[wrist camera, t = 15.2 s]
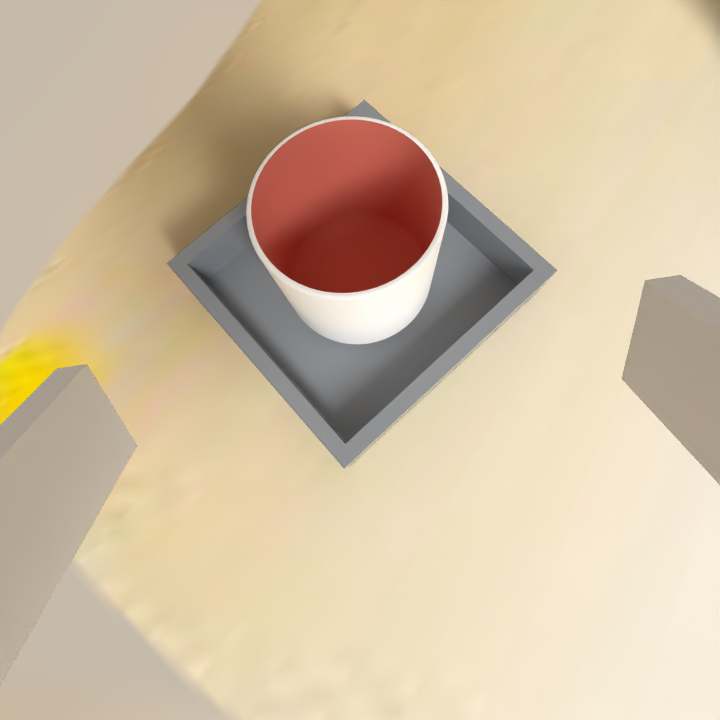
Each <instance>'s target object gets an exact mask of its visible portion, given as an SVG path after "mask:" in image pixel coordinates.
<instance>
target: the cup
mask: <svg viewBox="0 0 720 720" xmlns="http://www.w3.org/2000/svg"><path fill="white" fill-rule="evenodd" d="M447 216H448V193H447V187H446V183H445V179H444V176H443V174H442V171H441V169H440V167H439V165H438V163H437V162H436V160H435V158H434V157H433V155H432V154H431V153H430V151H429V150H428V149H427V148H426V147H425V146H424V145H423V144H422V143H421V142H420V141H419V140H418V139H416V138H415V137H414V136H412V135H411V134H410V133H408V132H407V131H405V130H403V129H401V128H400V127H398V126H395V125H393V124H391V123H388V122H385V121H382V120H378V119H374V118H369V117H359V116H345V117H335V118H330V119H325V120H322V121H319V122H315V123H312V124H310V125H308V126H305V127H303V128H301V129H299V130H298V131H296V132H294V133H292V134H291V135H289V136H288V137H287V138H285V139H284V140H283V141H281V142H280V143H279V144H278V145H277V146H276V147H275V148H274V149H273V150H272V151H271V152H270V153H269V154H268V155H267V157H266V158H265V159H264V161H263V162H262V164H261V165H260V167H259V168H258V170H257V172H256V174H255V176H254V178H253V181H252V183H251V186H250V189H249V194H248V198H247V206H246V219H247V227H248V232H249V236H250V239H251V242H252V245H253V247H254V249H255V251H256V253H257V255H258V256H259V258H260V259H261V261H262V262H263V264H264V265H265V267H266V268H267V270H268V271H269V273H270V274H271V276H272V277H273V279H274V280H275V282H276V283H277V285H278V286H279V287H280V289H281V290H282V292H283V293H284V295H285V296H286V298H287V299H288V301H289V302H290V304H291V305H292V307H293V308H294V309H295V311H296V312H297V314H298V315H299V317H300V318H301V319H302V320H303V321H304V322H305V323H306V324H307V325H308V326H309V327H310V328H311V329H313V330H314V331H315V332H317V333H318V334H320V335H322V336H324V337H326V338H328V339H331V340H333V341H337V342H340V343H346V344H369V343H374V342H378V341H381V340H384V339H386V338H389V337H391V336H393V335H394V334H396V333H398V332H400V331H401V330H402V329H404V328H405V327H406V326H407V325H408V324H409V323H410V322H412V320H413V319H414V318H415V317H416V316H417V314H418V313H419V312H420V310H421V309H422V307H423V305H424V303H425V301H426V299H427V296H428V293H429V290H430V286H431V282H432V278H433V274H434V270H435V266H436V262H437V258H438V254H439V250H440V246H441V242H442V238H443V234H444V230H445V226H446V221H447Z"/></svg>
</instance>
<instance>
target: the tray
mask: <svg viewBox="0 0 720 720" xmlns="http://www.w3.org/2000/svg"><path fill="white" fill-rule="evenodd" d="M346 116H359V117H369V118H374V119H378V120H382V121H385V122H388V123H390V122H389V121H388V120H387V119H385V118H384V117H383V116H382V115H381V114H380V113H379V112H377V111H376V110H375V109H374V108H373V107H372V106H371V105H370V104H368V103H367V102H366V101H365V100H364V101H362V102H361V103H360V104H359V105H358V106H356V107H355V108H354V109H353V110H352V111H350V112H349V113H348V114H347V115H346ZM344 117H345V116H344ZM439 167H440V166H439ZM440 169H441V171H442V174H443V176H444V179H445V183H446V187H447V193H448V216H447V221H446V226H445V230H444V234H443V238H442V242H441V246H440V250H439V254H438V258H437V262H436V266H435V270H434V274H433V278H432V282H431V286H430V290H429V293H428V296H427V299H426V301H425V303H424V305H423V307H422V309H421V310H420V312H419V313H418V314H417V316H416V317H415V318H414V319H413V320H412V322H410V323H409V324H408V325H407V326H406V327H405V328H404V329H402V330H401V331H400V332H398V333H396V334H394V335H393V336H391V337H389V338H386V339H384V340H381V341H378V342H374V343H369V344H346V343H340V342H337V341H333V340H331V339H328V338H326V337H324V336H322V335H320V334H318V333H317V332H315V331H314V330H313V329H311V328H310V327H309V326H308V325H307V324H306V323H305V322H304V321H303V320H302V319H301V318H300V317H299V315H298V314H297V312H296V311H295V309H294V308H293V307H292V305H291V304H290V302H289V301H288V299H287V298H286V296H285V295H284V293H283V292H282V290H281V289H280V287H279V286H278V285H277V283H276V282H275V280H274V279H273V277H272V276H271V274H270V273H269V271H268V270H267V268H266V267H265V265H264V264H263V262H262V261H261V259H260V258H259V256H258V255H257V253H256V251H255V249H254V247H253V245H252V242H251V239H250V236H249V232H248V227H247V219H246V206H247V198H248V197H247V198H245V199H244V200H243V201H242V202H241V203H239V204H238V205H237V206H236V207H235V208H233V209H232V210H231V211H230V212H228V213H227V214H226V215H225V216H224V217H222V218H221V219H220V220H219V221H218V222H216V223H215V224H214V225H213V226H212V227H210V228H209V229H208V230H207V231H206V232H204V233H203V234H202V235H201V236H200V237H198V238H197V239H196V240H195V241H194V242H192V243H191V244H190V245H189V246H187V247H186V248H185V249H184V250H183V251H181V252H180V253H179V254H178V255H177V256H175V257H174V258H173V259H172V260H171V261H169V262H168V263H167V264H168V265H169V267H170V268H171V269H172V270H173V271H174V272H175V273H176V275H177V276H178V277H179V278H180V279H181V280H182V282H183V283H184V284H185V285H186V286H187V287H188V289H189V290H190V291H191V292H192V293H193V294H194V295H195V297H196V298H197V299H198V300H199V301H200V302H201V304H202V305H203V306H204V307H205V308H206V309H207V311H208V312H209V313H210V314H211V315H212V316H213V317H214V319H215V320H216V321H217V322H218V323H219V324H220V326H221V327H222V328H223V329H224V330H225V331H226V333H227V334H228V335H229V336H230V337H231V338H232V339H233V341H234V342H235V343H236V344H237V345H238V346H239V348H240V349H241V350H242V351H243V352H244V353H245V354H246V356H247V357H248V358H249V359H250V360H251V361H252V363H253V364H254V365H255V366H256V367H257V368H258V370H259V371H260V372H261V373H262V374H263V375H264V376H265V378H266V379H267V380H268V381H269V382H270V383H271V385H272V386H273V387H274V388H275V389H276V390H277V392H278V393H279V394H280V395H281V396H282V397H283V398H284V400H285V401H286V402H287V403H288V404H289V405H290V407H291V408H292V409H293V410H294V411H295V412H296V414H297V415H298V416H299V417H300V418H301V419H302V420H303V422H304V423H305V424H306V425H307V426H308V427H309V429H310V430H311V431H312V432H313V433H314V434H315V436H316V437H317V438H318V439H319V440H320V441H321V442H322V444H323V445H324V446H325V447H326V448H327V449H328V451H329V452H330V453H331V454H332V455H333V456H334V458H335V459H336V460H337V461H338V462H339V463H340V464H341V466H342V467H343V468H346V467H349V466H351V465H352V464H353V463H354V462H355V461H356V460H357V459H358V458H359V457H360V456H361V455H362V454H363V453H365V452H366V451H367V450H368V449H369V448H370V447H371V446H372V445H373V444H374V443H375V442H376V441H377V440H378V439H380V438H381V437H382V436H383V435H384V434H385V433H386V432H387V431H388V430H389V429H390V428H391V427H392V426H394V425H395V424H396V423H397V422H398V421H399V420H400V419H401V418H402V417H403V416H404V415H405V414H406V413H408V412H409V411H410V410H411V409H412V408H413V407H414V406H415V405H416V404H417V403H418V402H419V401H420V400H421V399H423V398H424V397H425V396H426V395H427V394H428V393H429V392H430V391H431V390H432V389H433V388H434V387H435V386H437V385H438V384H439V383H440V382H441V381H442V380H443V379H444V378H445V377H446V376H447V375H448V374H449V373H451V372H452V371H453V370H454V369H455V368H456V367H457V366H458V365H459V364H460V363H461V362H462V361H463V360H464V359H466V358H467V357H468V356H469V355H470V354H471V353H472V352H473V351H474V350H475V349H476V348H477V347H478V346H480V345H481V344H482V343H483V342H484V341H485V340H486V339H487V338H488V337H489V336H490V335H491V334H492V333H494V332H495V331H496V330H497V329H498V328H499V327H500V326H501V325H502V324H503V323H504V322H505V321H506V320H507V319H509V318H510V317H511V316H512V315H513V314H514V313H515V312H516V311H517V310H518V309H519V308H520V307H521V306H523V305H524V304H525V303H526V302H527V301H528V300H529V299H530V298H531V297H532V296H533V295H534V294H535V293H536V292H537V291H538V290H539V289H540V288H541V287H542V286H543V285H544V284H545V283H546V282H547V281H548V280H549V279H550V278H551V276H552V275H553V274H554V273H555V272H556V271H557V270H556V269H555V268H554V267H553V266H552V265H551V264H549V263H548V262H547V261H546V260H545V259H544V258H543V257H542V256H540V255H539V254H538V253H537V252H536V251H535V250H534V249H532V248H531V247H530V246H529V245H528V244H527V243H526V242H525V241H523V240H522V239H521V238H520V237H519V236H518V235H517V234H516V233H514V232H513V231H512V230H511V229H510V228H509V227H508V226H506V225H505V224H504V223H503V222H502V221H501V220H500V219H499V218H497V217H496V216H495V215H494V214H493V213H492V212H491V211H489V210H488V209H487V208H486V207H485V206H484V205H483V204H482V203H480V202H479V201H478V200H477V199H476V198H475V197H474V196H473V195H471V194H470V193H469V192H468V191H467V190H466V189H465V188H463V187H462V186H461V185H460V184H459V183H458V182H457V181H456V180H454V179H453V178H452V177H451V176H450V175H449V174H448V173H447V172H445V171H444V170H443V169H442V168H441V167H440Z"/></svg>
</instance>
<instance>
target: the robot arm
mask: <svg viewBox="0 0 720 720" xmlns="http://www.w3.org/2000/svg"><path fill="white" fill-rule="evenodd" d="M622 380H623V381H624V382H625V383H626V384H627V385H628V386H629V387H630V388H631V389H632V391H633V392H634V393H635V394H636V395H637V396H638V397H639V398H640V399H641V400H642V401H643V402H644V404H645V405H646V406H647V407H648V408H649V409H650V410H651V411H652V412H653V413H654V414H655V415H656V416H657V418H658V419H659V420H660V421H661V422H662V423H663V424H664V425H665V426H666V427H667V428H668V429H669V431H670V432H671V433H672V434H673V435H674V436H675V437H676V438H677V439H678V440H679V441H680V442H681V443H682V445H683V446H684V447H685V448H686V449H687V450H688V451H689V452H690V453H691V454H692V455H693V456H694V458H695V459H696V460H697V461H698V462H699V463H700V464H701V465H702V466H703V467H704V468H705V469H706V470H707V472H708V473H709V474H710V475H711V476H712V477H713V478H714V479H715V480H716V481H717V482H718V483H719V485H720V298H719V297H717V296H716V295H714V294H712V293H710V292H709V291H707V290H705V289H704V288H702V287H700V286H698V285H697V284H695V283H693V282H691V281H690V280H688V279H686V278H685V277H683V276H681V275H678V276H672V277H665V278H658V279H652V280H645V283H644V287H643V291H642V295H641V300H640V304H639V308H638V312H637V317H636V321H635V325H634V329H633V333H632V338H631V342H630V346H629V350H628V355H627V359H626V363H625V367H624V371H623V376H622ZM136 447H137V444H136V442H135V441H134V439H133V438H132V436H131V434H130V433H129V431H128V430H127V428H126V426H125V425H124V423H123V421H122V420H121V418H120V417H119V415H118V413H117V412H116V410H115V409H114V407H113V405H112V404H111V402H110V401H109V399H108V397H107V396H106V394H105V393H104V391H103V389H102V388H101V386H100V385H99V383H98V381H97V380H96V378H95V377H94V375H93V373H92V372H91V370H90V369H89V367H88V365H87V364H85V365H78V366H72V367H65V368H58V369H56V370H55V371H54V372H53V373H52V374H51V375H50V376H49V377H48V378H47V379H46V380H45V381H44V382H43V383H42V384H41V385H40V386H39V387H38V388H37V389H36V390H35V391H34V392H33V393H32V394H31V395H30V396H29V397H28V398H27V399H26V400H25V401H24V402H23V403H22V404H21V405H20V406H19V407H18V408H17V409H16V410H15V411H14V412H13V413H12V414H11V415H10V416H9V417H8V418H7V419H6V420H5V421H4V422H3V423H2V424H1V425H0V685H1V683H2V682H3V680H4V678H5V676H6V675H7V673H8V671H9V669H10V668H11V666H12V664H13V662H14V661H15V659H16V657H17V655H18V654H19V652H20V650H21V648H22V647H23V645H24V643H25V641H26V640H27V638H28V636H29V634H30V633H31V631H32V629H33V627H34V626H35V624H36V622H37V620H38V619H39V617H40V615H41V613H42V612H43V610H44V608H45V606H46V605H47V603H48V601H49V599H50V598H51V596H52V594H53V592H54V590H55V589H56V587H57V585H58V583H59V581H60V580H61V578H62V576H63V575H64V573H65V571H66V569H67V568H68V566H69V564H70V562H71V561H72V559H73V557H74V555H75V554H76V552H77V550H78V548H79V547H80V545H81V543H82V541H83V540H84V538H85V536H86V534H87V533H88V531H89V529H90V527H91V526H92V524H93V522H94V520H95V519H96V517H97V515H98V513H99V512H100V510H101V508H102V506H103V505H104V503H105V501H106V499H107V497H108V496H109V494H110V492H111V490H112V489H113V487H114V485H115V483H116V482H117V480H118V478H119V476H120V475H121V473H122V471H123V469H124V468H125V466H126V464H127V462H128V461H129V459H130V457H131V455H132V454H133V452H134V450H135V448H136Z"/></svg>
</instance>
